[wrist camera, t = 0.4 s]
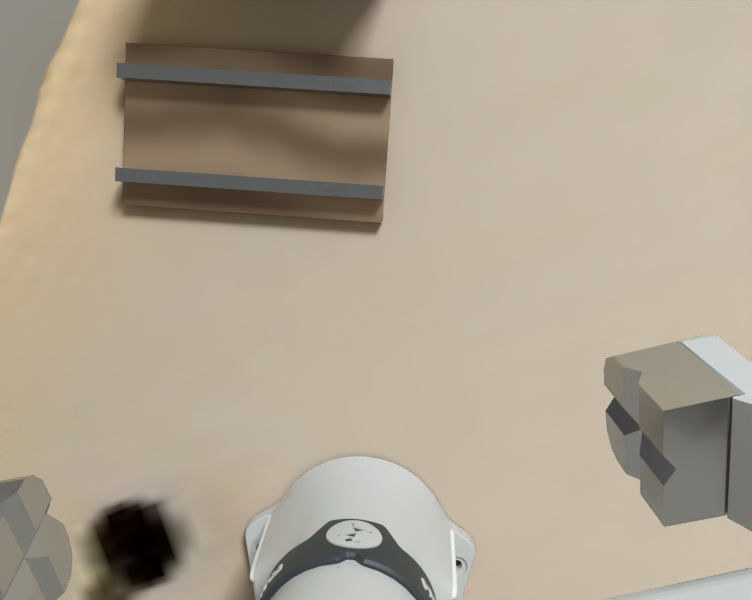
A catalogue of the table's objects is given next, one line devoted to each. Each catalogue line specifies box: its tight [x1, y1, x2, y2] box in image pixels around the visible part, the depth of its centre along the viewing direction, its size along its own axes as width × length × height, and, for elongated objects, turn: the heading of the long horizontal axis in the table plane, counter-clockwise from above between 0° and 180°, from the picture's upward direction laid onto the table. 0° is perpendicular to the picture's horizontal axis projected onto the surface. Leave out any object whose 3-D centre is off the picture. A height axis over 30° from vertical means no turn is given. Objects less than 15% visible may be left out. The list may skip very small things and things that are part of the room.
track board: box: [115, 43, 393, 223], centre depth 52 cm, size 12×20×2 cm, turn 86°
